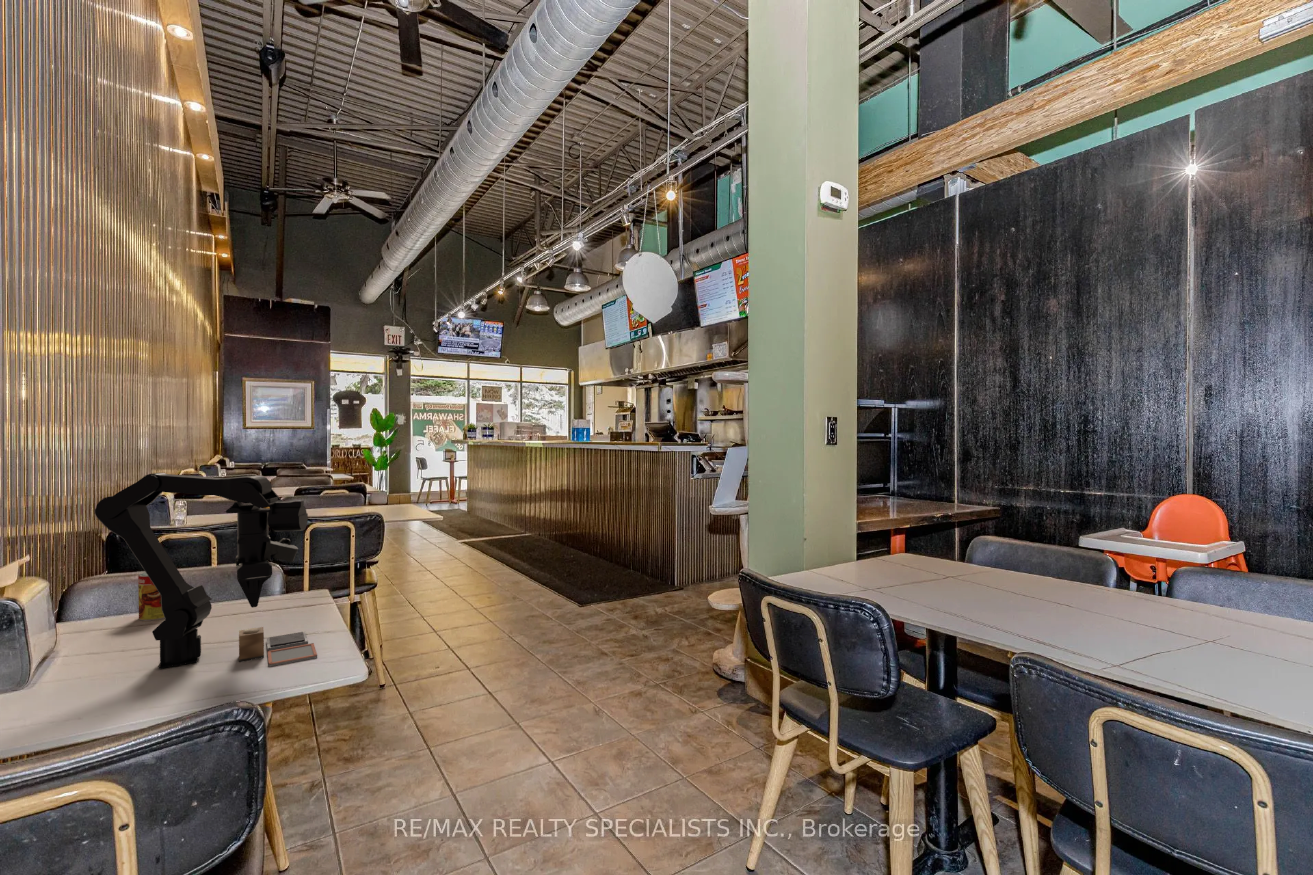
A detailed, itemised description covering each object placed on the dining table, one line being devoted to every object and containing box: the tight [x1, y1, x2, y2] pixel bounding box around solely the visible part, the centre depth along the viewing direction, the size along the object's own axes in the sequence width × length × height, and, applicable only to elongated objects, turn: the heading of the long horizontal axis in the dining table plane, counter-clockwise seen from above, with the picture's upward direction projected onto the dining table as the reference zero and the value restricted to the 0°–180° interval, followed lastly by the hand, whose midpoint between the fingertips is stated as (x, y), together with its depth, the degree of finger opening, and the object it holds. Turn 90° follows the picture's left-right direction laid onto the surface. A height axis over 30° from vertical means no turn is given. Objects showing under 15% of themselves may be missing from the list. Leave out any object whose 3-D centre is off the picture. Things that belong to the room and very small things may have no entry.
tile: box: [267, 642, 318, 667], centre depth 134 cm, size 9×9×1 cm
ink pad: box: [266, 631, 309, 652], centre depth 142 cm, size 8×8×1 cm
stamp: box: [238, 626, 265, 663], centre depth 133 cm, size 4×4×6 cm
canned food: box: [137, 571, 165, 622], centre depth 163 cm, size 8×8×12 cm
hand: (253, 602), depth 133 cm, fingers open, 9 cm apart
